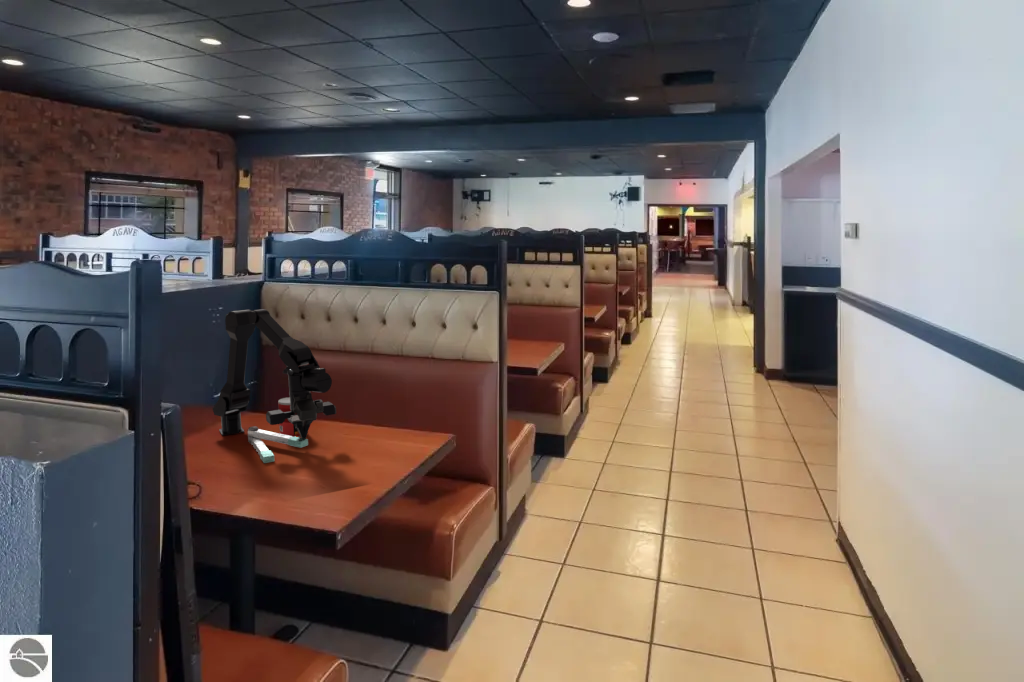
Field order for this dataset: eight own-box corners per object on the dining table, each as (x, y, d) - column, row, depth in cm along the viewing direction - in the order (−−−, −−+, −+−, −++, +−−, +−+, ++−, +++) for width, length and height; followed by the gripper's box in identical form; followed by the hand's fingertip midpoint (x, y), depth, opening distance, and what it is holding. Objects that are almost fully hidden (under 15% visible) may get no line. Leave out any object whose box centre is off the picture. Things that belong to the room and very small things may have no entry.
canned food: (298, 438, 197) (296, 403, 195) (274, 436, 198) (272, 402, 197) (310, 431, 204) (309, 397, 202) (288, 429, 206) (286, 396, 204)
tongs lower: (247, 441, 194) (247, 435, 193) (258, 439, 195) (258, 433, 195) (263, 463, 175) (262, 457, 175) (275, 461, 177) (274, 455, 176)
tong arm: (245, 436, 192) (245, 428, 192) (254, 433, 195) (253, 425, 195) (300, 447, 182) (299, 439, 181) (308, 444, 184) (308, 436, 184)
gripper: (272, 399, 173) (277, 455, 175) (340, 389, 183) (344, 442, 185) (263, 392, 182) (268, 445, 184) (328, 382, 192) (332, 432, 194)
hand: (304, 441), depth 187 cm, fingers closed
